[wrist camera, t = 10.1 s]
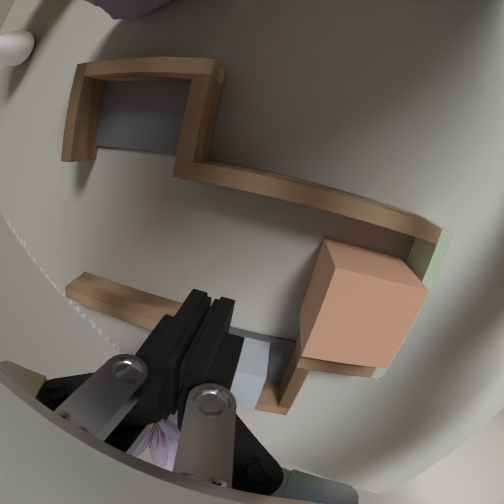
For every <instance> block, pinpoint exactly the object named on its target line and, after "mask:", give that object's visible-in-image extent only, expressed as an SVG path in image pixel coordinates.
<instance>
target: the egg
mask: <svg viewBox="0 0 504 504" xmlns="http://www.w3.org/2000/svg"><path fill="white" fill-rule="evenodd" d="M33 47H34V37H33V35H32V34H31V33H30V32H28V31H23V30H18V31H13V32H9V33H6V34H4V35H1V36H0V62H1V63H3V64H5V65H8V66H17V65H19V64H21V63H23V62H24V61H25V60H26V59H27V58H28V57H29V55H30V54H31V52H32V50H33Z"/></svg>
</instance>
